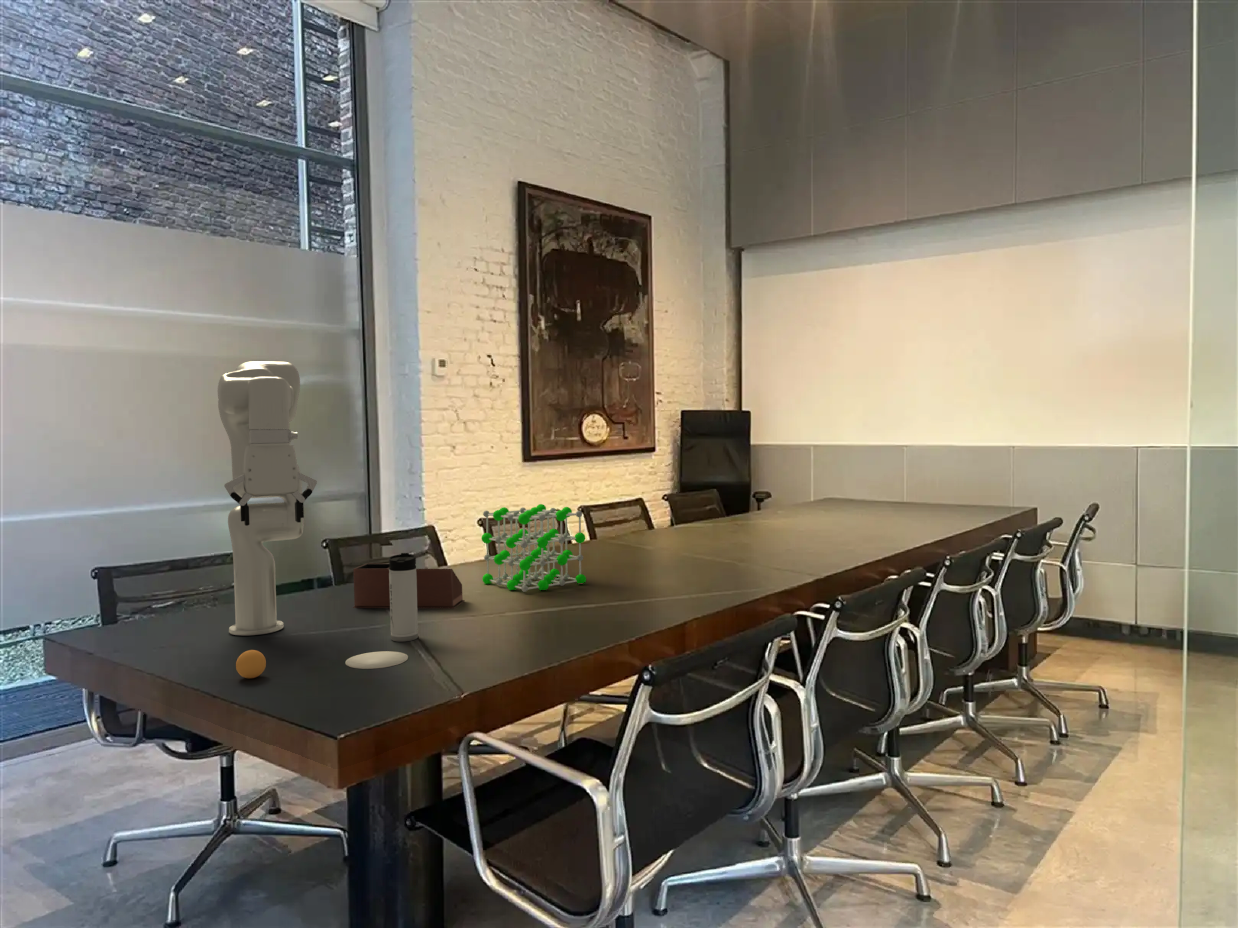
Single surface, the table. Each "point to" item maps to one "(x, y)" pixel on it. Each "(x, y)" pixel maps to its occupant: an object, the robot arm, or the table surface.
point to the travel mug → (403, 597)
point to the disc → (376, 660)
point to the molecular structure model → (541, 551)
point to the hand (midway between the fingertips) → (272, 523)
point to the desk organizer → (431, 587)
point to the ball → (250, 664)
